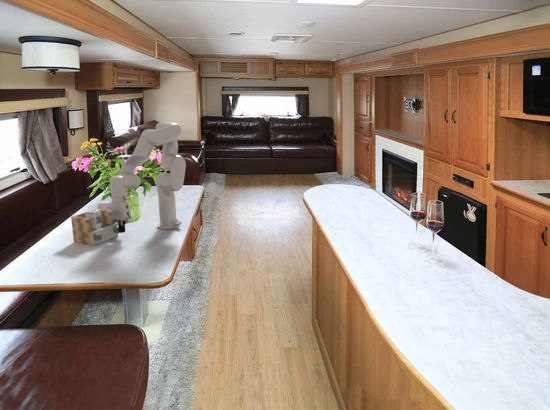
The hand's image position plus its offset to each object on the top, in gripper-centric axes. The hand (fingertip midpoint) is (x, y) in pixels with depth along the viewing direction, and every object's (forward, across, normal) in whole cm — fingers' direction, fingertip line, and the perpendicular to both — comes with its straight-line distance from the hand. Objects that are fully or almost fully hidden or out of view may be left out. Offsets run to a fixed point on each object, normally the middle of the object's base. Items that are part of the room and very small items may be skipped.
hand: (122, 232), depth 272 cm
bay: (+4, +13, +7) cm, 15 cm away
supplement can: (+4, +24, -14) cm, 28 cm away
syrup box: (+2, +11, +9) cm, 14 cm away
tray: (+3, +10, +7) cm, 13 cm away
